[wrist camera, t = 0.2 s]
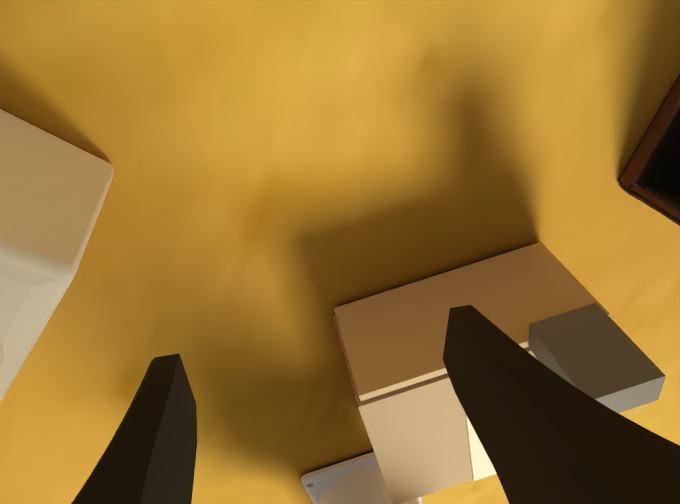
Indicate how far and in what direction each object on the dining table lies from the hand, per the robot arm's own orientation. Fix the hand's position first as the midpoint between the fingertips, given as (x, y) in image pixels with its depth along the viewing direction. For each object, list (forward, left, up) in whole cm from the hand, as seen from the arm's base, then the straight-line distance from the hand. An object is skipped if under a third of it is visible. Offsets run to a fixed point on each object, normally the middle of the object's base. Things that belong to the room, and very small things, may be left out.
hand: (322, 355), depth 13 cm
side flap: (-7, -6, -10) cm, 14 cm away
